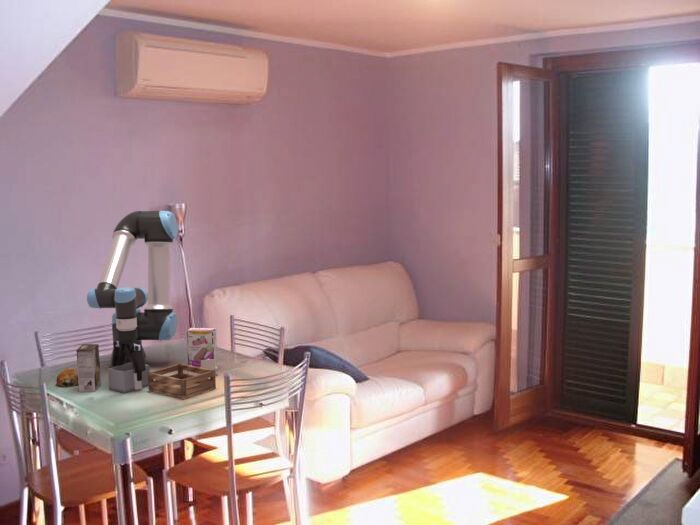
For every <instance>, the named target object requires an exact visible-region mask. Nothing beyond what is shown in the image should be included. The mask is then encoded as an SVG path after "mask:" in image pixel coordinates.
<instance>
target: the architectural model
mask: <svg viewBox="0 0 700 525" xmlns="http://www.w3.org/2000/svg"><path fill="white" fill-rule="evenodd" d="M200 368H205V369H209V370H215V371H216V370H217V369H218V370H219V367H218V365H217V366H215V359H210V360H209V359H207V360H201V365H200Z"/></svg>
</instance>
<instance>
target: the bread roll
mask: <svg viewBox="0 0 700 525" xmlns="http://www.w3.org/2000/svg"><path fill="white" fill-rule="evenodd" d="M56 385H57V386H58V387H60V386H65V387H64V388H69V386H71V387H76V386H79V383H78V368H75V367H67V368H64V369H63V370H61V371H60V372H59V373H58V375H57V377H56ZM66 386H68V387H66Z"/></svg>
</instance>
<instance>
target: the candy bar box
mask: <svg viewBox="0 0 700 525" xmlns="http://www.w3.org/2000/svg"><path fill="white" fill-rule="evenodd" d="M186 339H187V342H186V343H187V365H190V366H195V367H200V365H201V360H207V359H209V360H210V359H215V366H217V367H218V355H217V354H218V350H217V346H218V345H217V328H212V327H208V328H207V327H190V328H188V329H187V330H186Z"/></svg>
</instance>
